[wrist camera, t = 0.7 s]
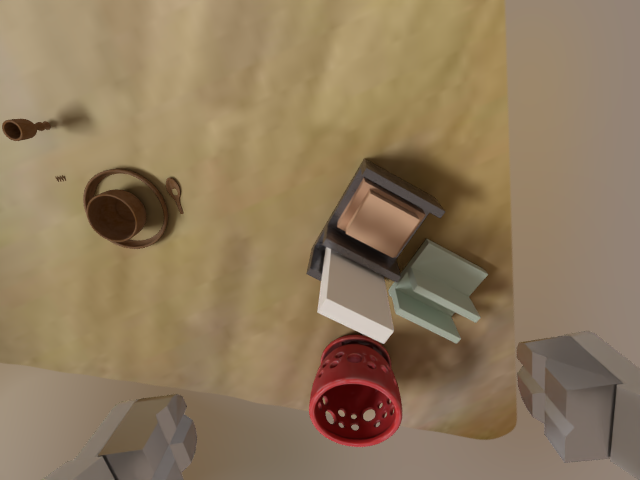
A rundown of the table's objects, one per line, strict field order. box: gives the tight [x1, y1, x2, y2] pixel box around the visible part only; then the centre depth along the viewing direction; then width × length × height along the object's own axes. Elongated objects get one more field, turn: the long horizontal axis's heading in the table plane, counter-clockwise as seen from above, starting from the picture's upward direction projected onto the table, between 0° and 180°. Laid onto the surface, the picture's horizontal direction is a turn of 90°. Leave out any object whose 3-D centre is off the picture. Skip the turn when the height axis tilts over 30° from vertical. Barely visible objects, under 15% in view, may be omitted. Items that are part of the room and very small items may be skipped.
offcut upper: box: [346, 189, 420, 258], centre depth 45 cm, size 6×7×2 cm
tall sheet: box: [318, 247, 394, 344], centre depth 43 cm, size 2×8×15 cm, turn 62°
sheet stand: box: [388, 239, 488, 344], centre depth 49 cm, size 10×10×6 cm
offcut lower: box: [337, 178, 426, 257], centre depth 46 cm, size 7×9×2 cm
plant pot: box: [309, 335, 402, 447], centre depth 54 cm, size 13×13×12 cm
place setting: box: [2, 119, 183, 249], centre depth 47 cm, size 18×20×6 cm
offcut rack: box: [307, 159, 445, 282], centre depth 46 cm, size 15×11×8 cm
